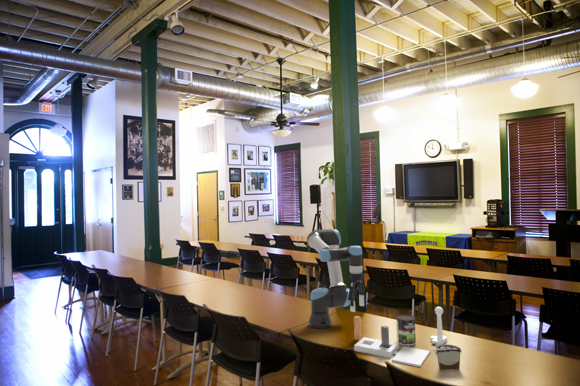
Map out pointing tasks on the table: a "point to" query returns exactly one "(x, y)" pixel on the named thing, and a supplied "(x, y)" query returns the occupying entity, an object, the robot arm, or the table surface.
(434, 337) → the joystick
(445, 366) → the food container
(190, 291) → the table surface
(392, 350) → the housing
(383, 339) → the ball
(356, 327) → the jaw pin orange
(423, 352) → the lid
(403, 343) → the coffee can
